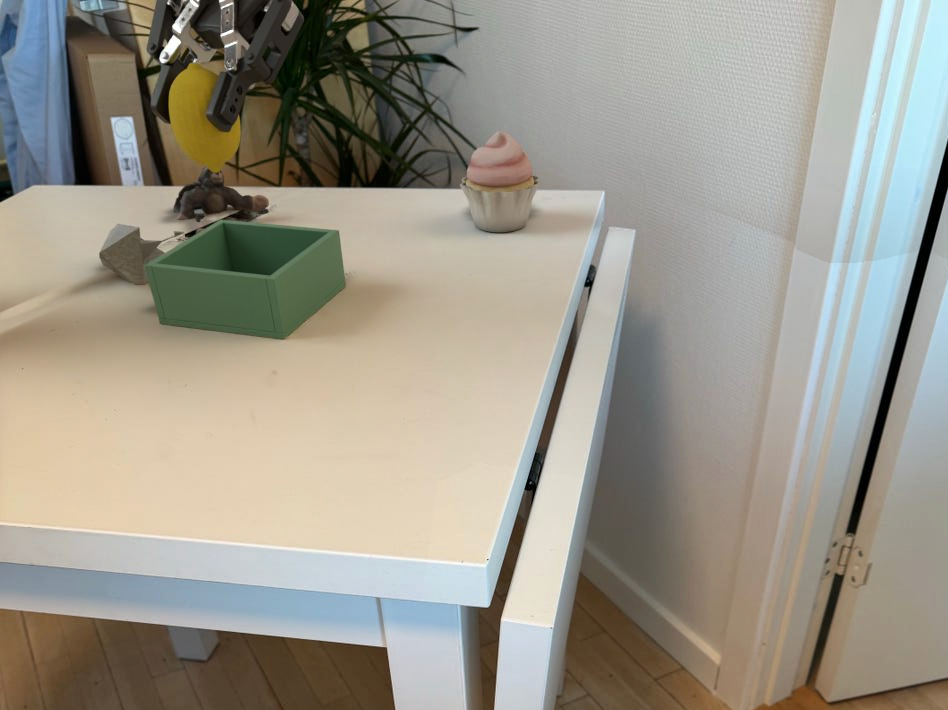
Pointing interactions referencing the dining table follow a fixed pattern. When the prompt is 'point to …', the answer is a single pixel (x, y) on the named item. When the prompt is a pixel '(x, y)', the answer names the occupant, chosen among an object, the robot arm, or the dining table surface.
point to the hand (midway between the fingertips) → (189, 121)
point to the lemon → (200, 119)
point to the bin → (247, 278)
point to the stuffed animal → (216, 200)
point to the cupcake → (500, 185)
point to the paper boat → (130, 252)
